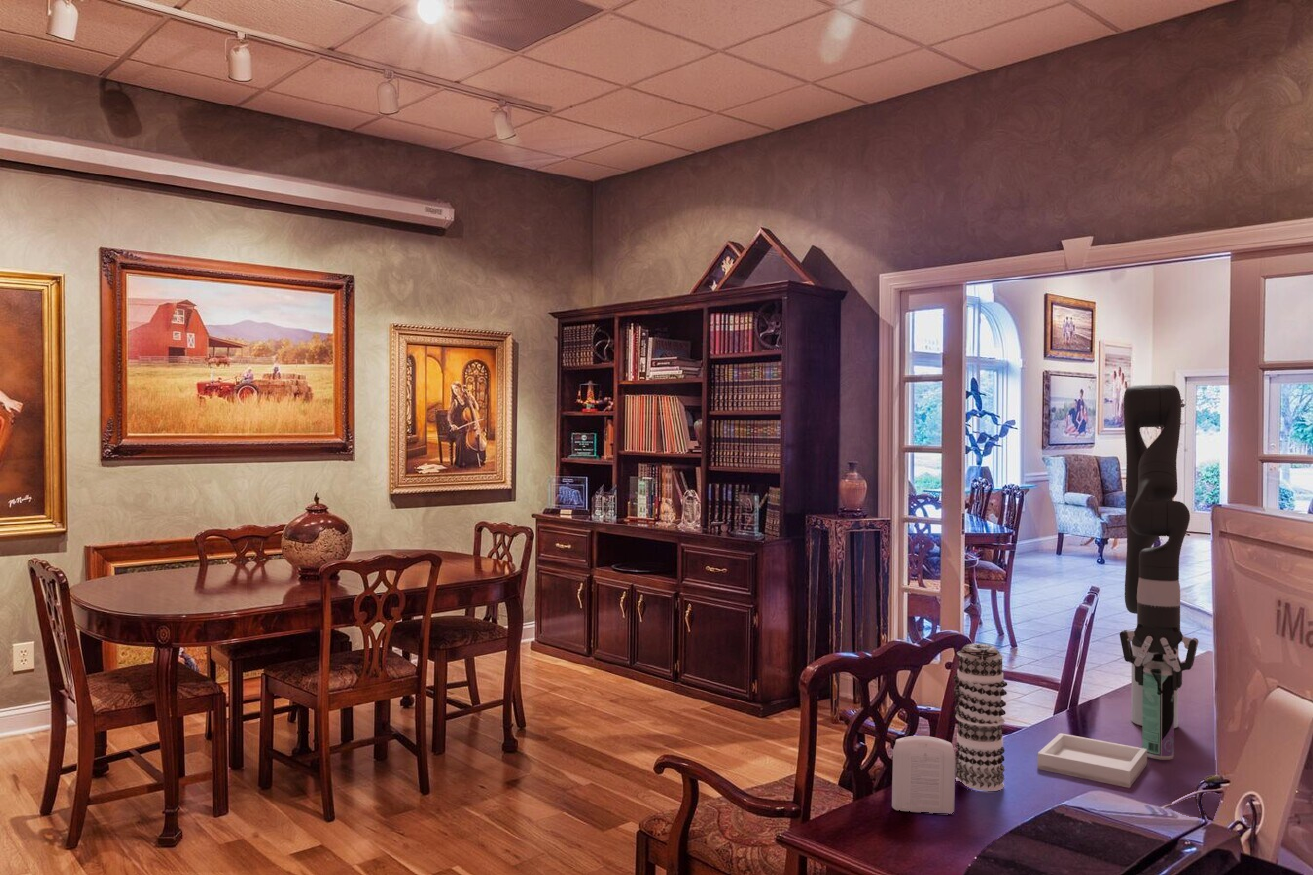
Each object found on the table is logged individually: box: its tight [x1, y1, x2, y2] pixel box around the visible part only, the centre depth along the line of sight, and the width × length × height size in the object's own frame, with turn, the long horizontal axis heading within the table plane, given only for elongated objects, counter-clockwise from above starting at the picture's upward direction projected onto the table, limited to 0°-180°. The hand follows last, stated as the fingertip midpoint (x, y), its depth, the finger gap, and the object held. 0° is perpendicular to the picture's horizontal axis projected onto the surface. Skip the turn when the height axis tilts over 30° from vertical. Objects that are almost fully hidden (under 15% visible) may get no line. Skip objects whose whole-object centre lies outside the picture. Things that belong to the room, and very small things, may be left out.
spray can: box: [1141, 653, 1175, 761], centre depth 187 cm, size 6×6×20 cm
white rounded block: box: [891, 735, 956, 815], centre depth 160 cm, size 10×4×12 cm, turn 81°
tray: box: [1036, 732, 1148, 789], centre depth 182 cm, size 16×16×3 cm
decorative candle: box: [953, 643, 1008, 791], centre depth 172 cm, size 9×9×25 cm
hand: (1158, 686), depth 187 cm, fingers closed on spray can, 5 cm apart
